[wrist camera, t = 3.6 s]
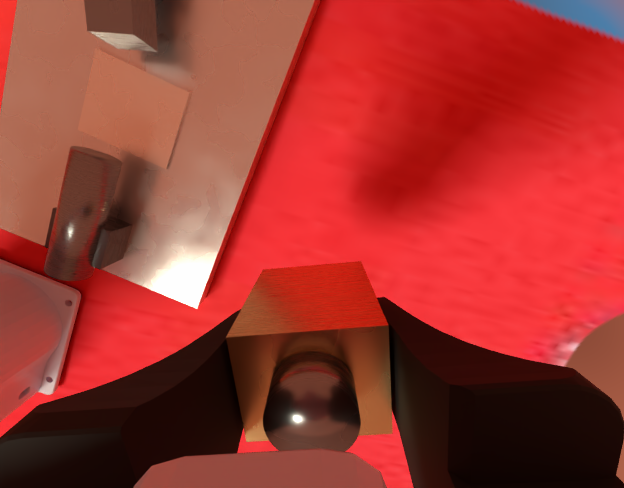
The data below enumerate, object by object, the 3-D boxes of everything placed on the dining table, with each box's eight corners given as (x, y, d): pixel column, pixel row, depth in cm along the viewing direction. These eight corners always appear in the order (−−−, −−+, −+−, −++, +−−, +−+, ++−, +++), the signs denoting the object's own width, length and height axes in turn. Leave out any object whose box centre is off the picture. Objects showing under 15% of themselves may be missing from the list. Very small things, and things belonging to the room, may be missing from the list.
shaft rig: (205, 298, 21) (174, 334, 16) (8, 217, 20) (-83, 232, 15) (323, -8, 16) (325, -76, 11) (71, -141, 15) (-37, -274, 10)
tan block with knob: (365, 333, 14) (403, 475, 8) (273, 339, 14) (235, 483, 8) (360, 261, 13) (400, 353, 7) (263, 269, 13) (209, 366, 7)
